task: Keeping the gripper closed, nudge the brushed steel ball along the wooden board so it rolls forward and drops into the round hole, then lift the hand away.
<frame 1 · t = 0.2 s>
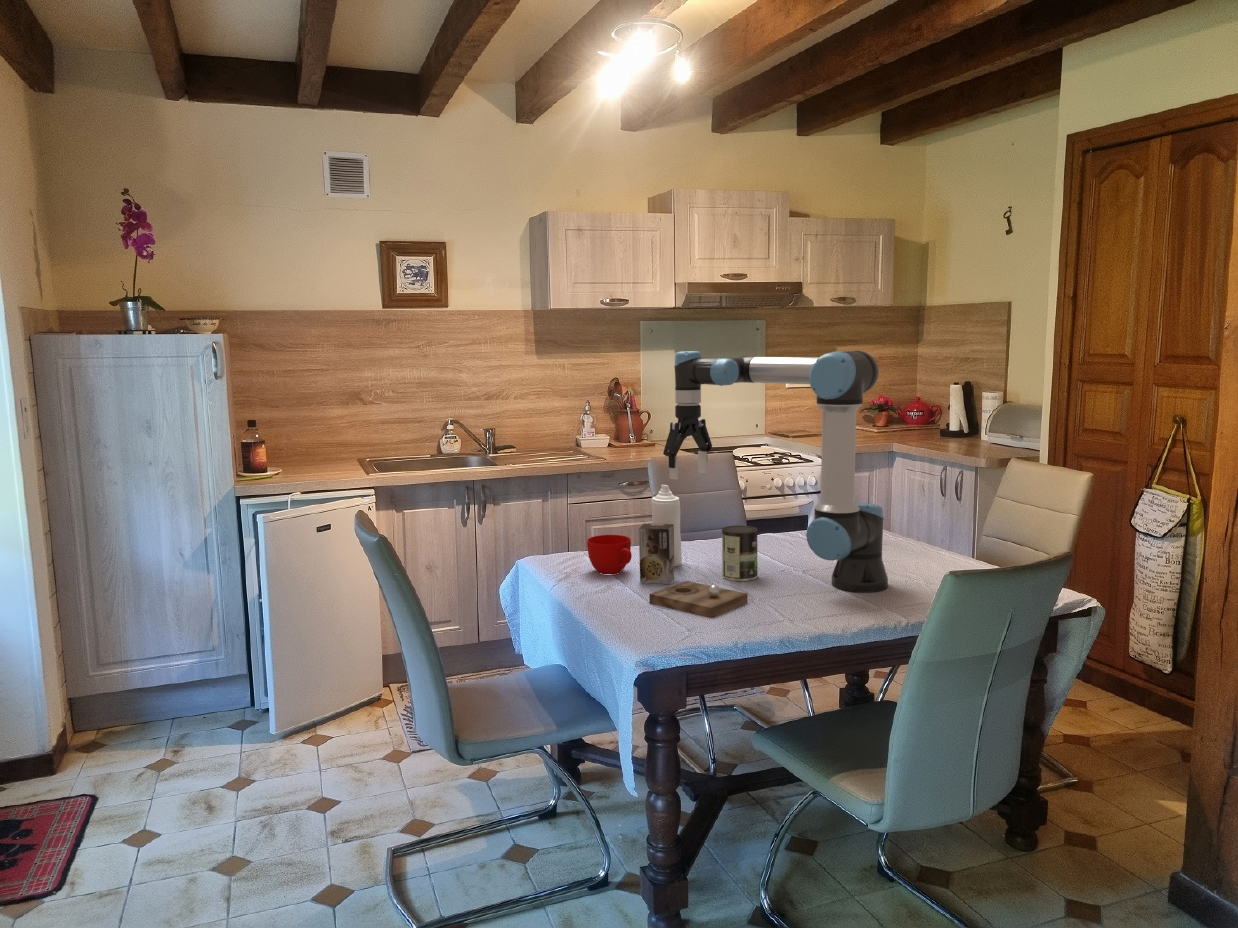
hand: (688, 475, 278), 28 cm above the table, tool pointing down, fingers open, 13 cm apart
wooden board: (698, 602, 246), on the table
coffee can: (739, 577, 271), on the table
steel ball: (713, 590, 243), point 4 cm above the table, touching wooden board
spray can: (667, 565, 286), on the table
ceramic cup: (613, 574, 277), on the table
coffee box: (657, 581, 268), on the table
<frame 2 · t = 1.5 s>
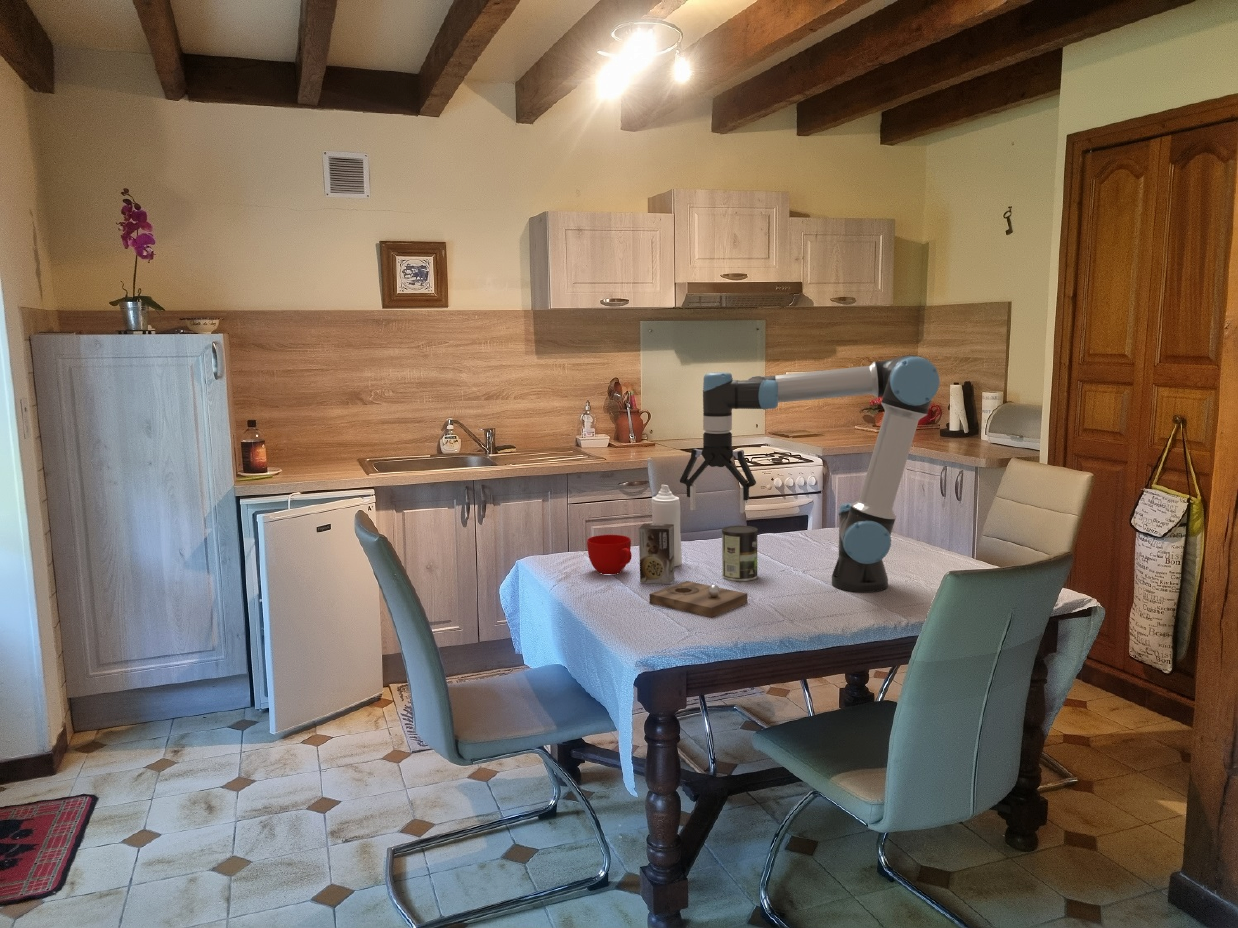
hand: (717, 510, 250), 23 cm above the table, tool pointing down, fingers open, 13 cm apart
nothing on the table moved.
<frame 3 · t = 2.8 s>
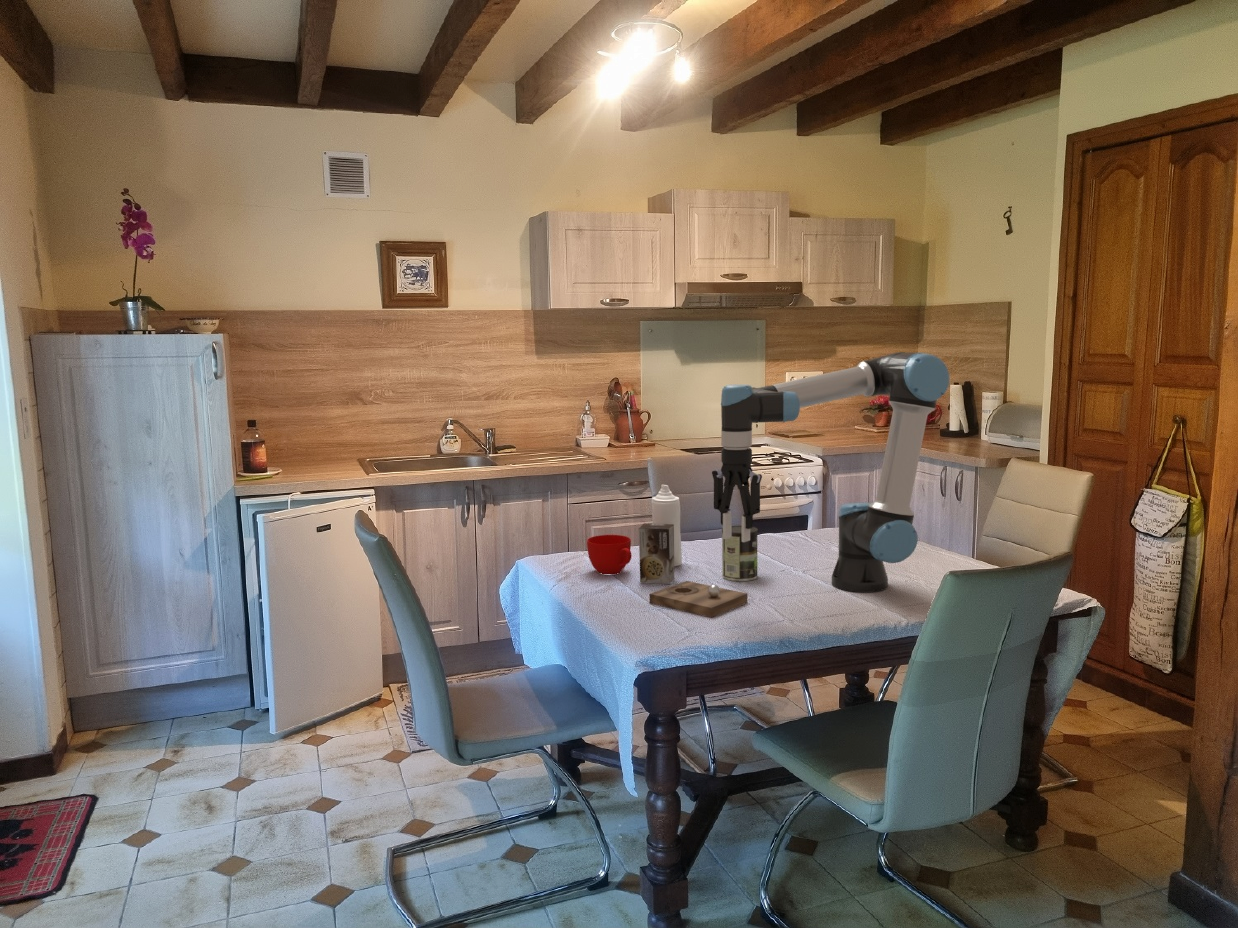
hand: (736, 539, 236), 19 cm above the table, tool pointing down, fingers open, 5 cm apart
nothing on the table moved.
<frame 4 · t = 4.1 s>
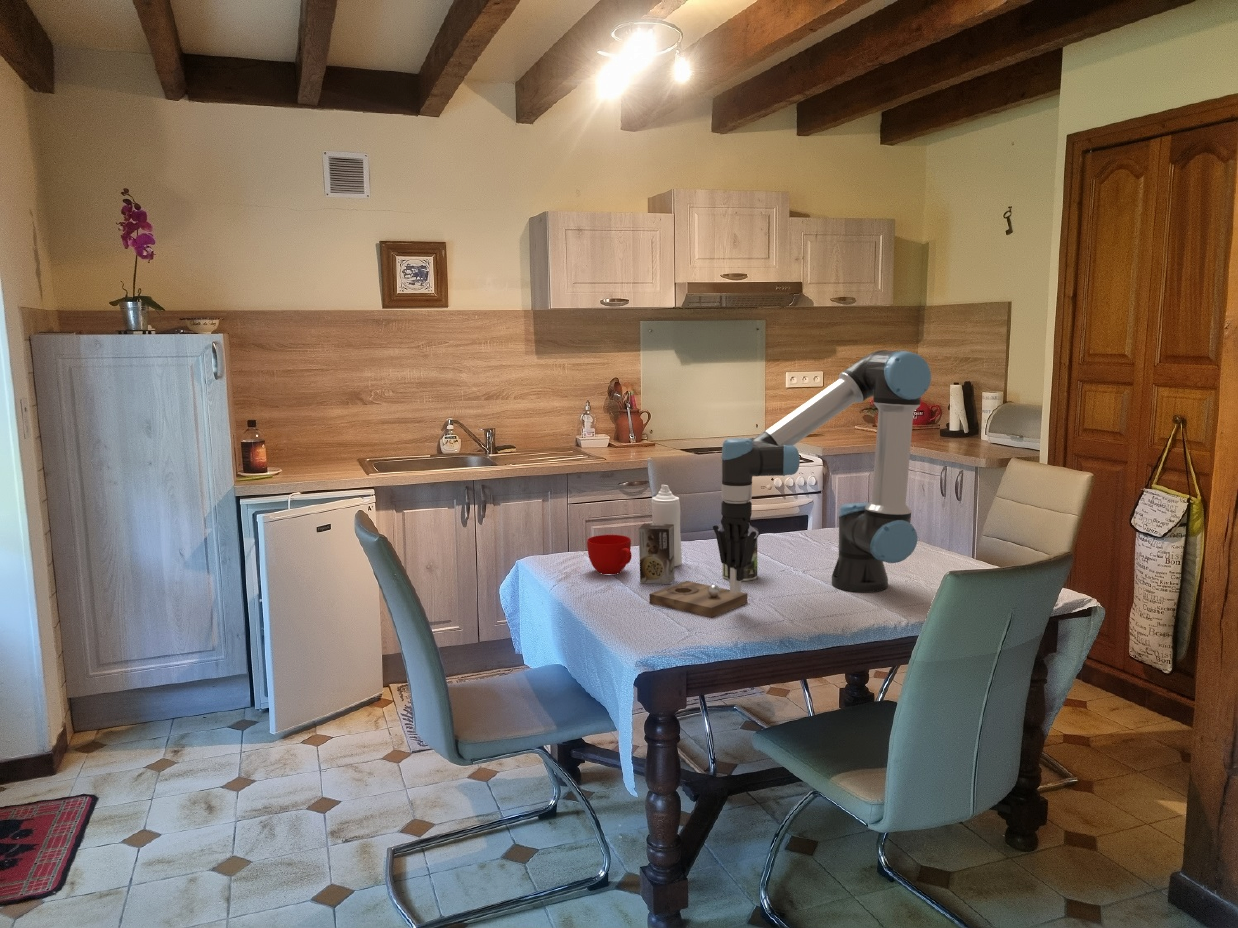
hand: (735, 592, 238), 5 cm above the table, tool pointing down, fingers closed
nothing on the table moved.
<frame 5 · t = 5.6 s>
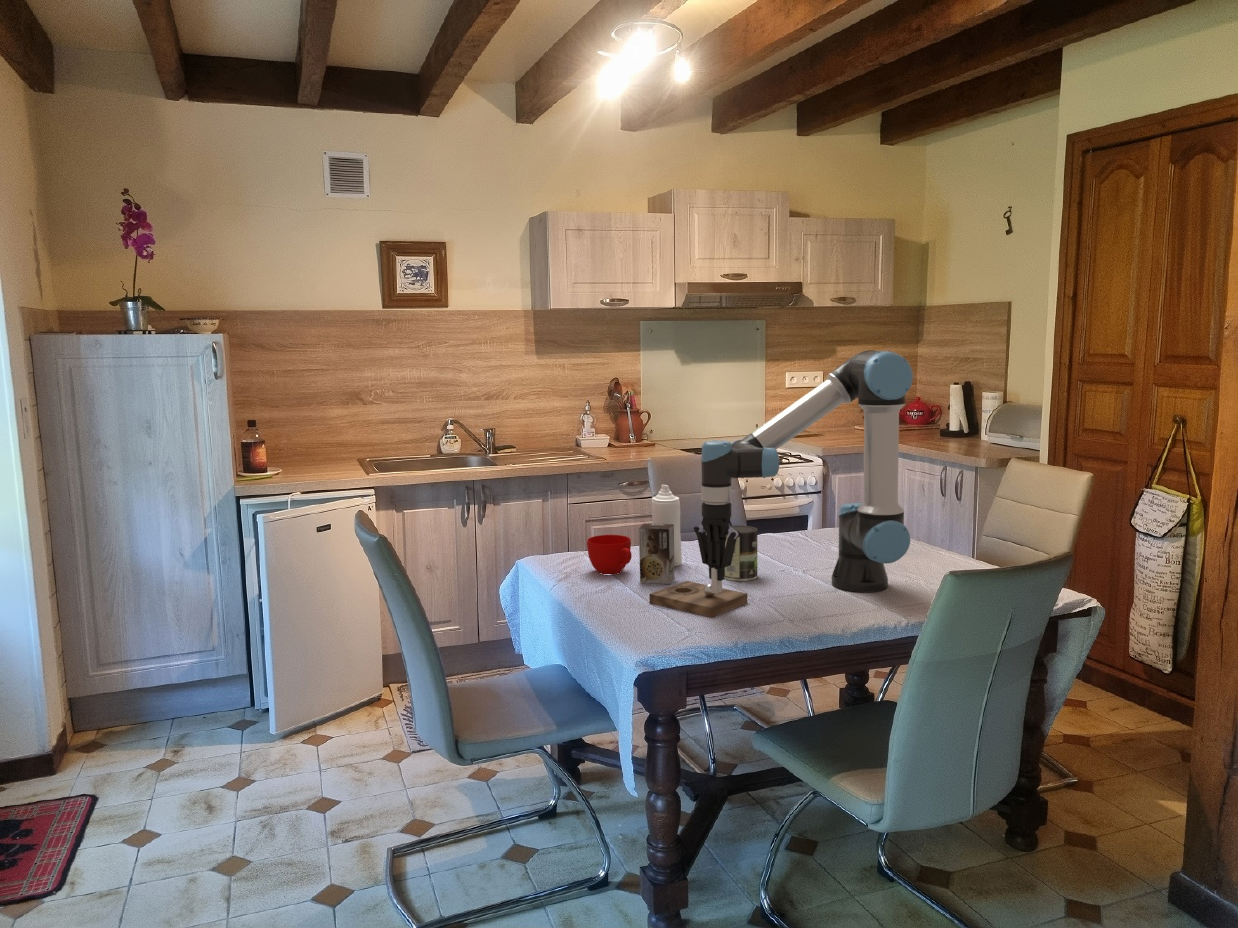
hand: (716, 591, 242), 4 cm above the table, tool pointing down, fingers closed
steel ball: (709, 590, 243), point 4 cm above the table, tilted 42°, touching gripper, wooden board
everything else where it was.
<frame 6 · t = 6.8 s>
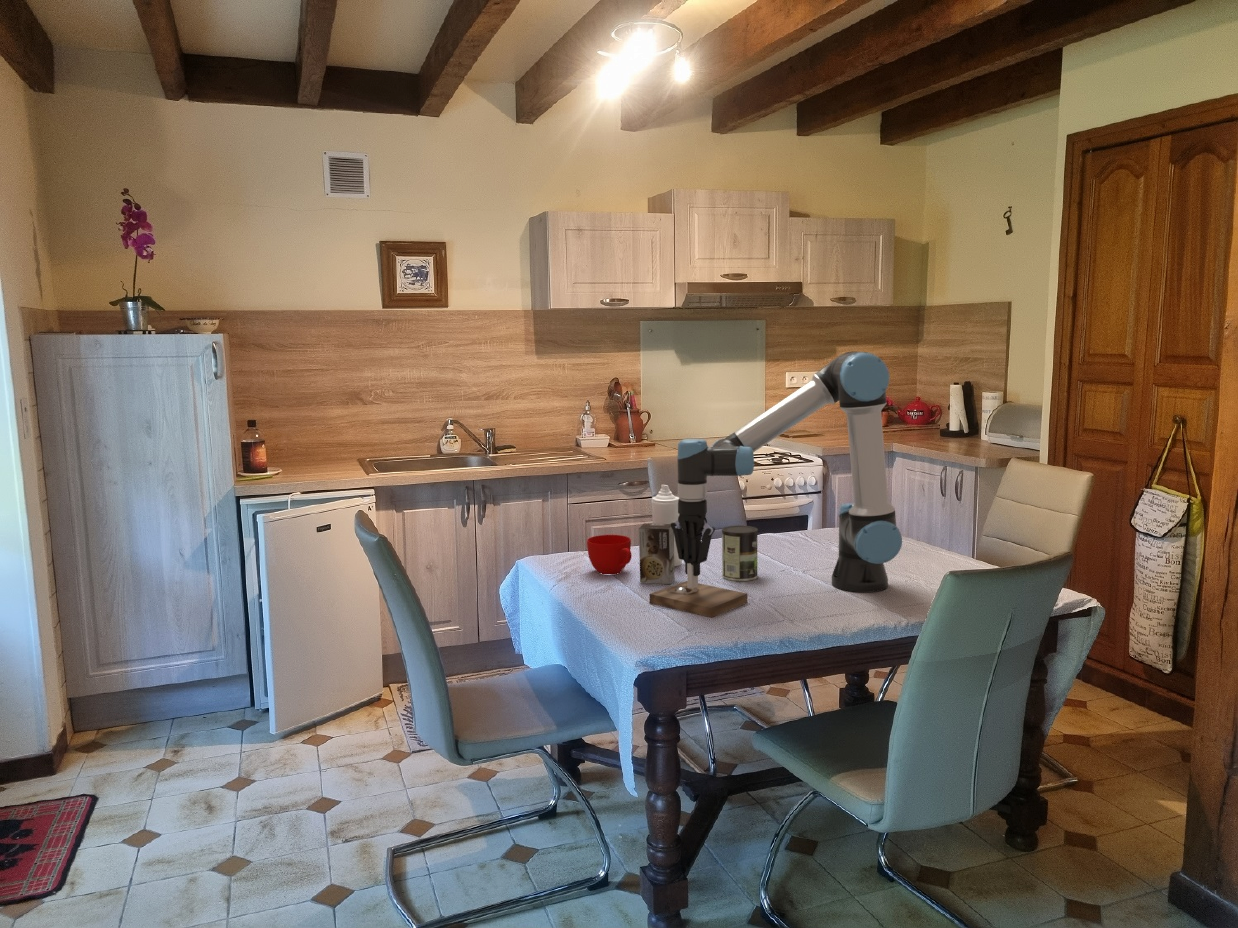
hand: (692, 586, 247), 4 cm above the table, tool pointing down, fingers closed
steel ball: (681, 593, 250), point 2 cm above the table, tilted 35°
everything else where it was.
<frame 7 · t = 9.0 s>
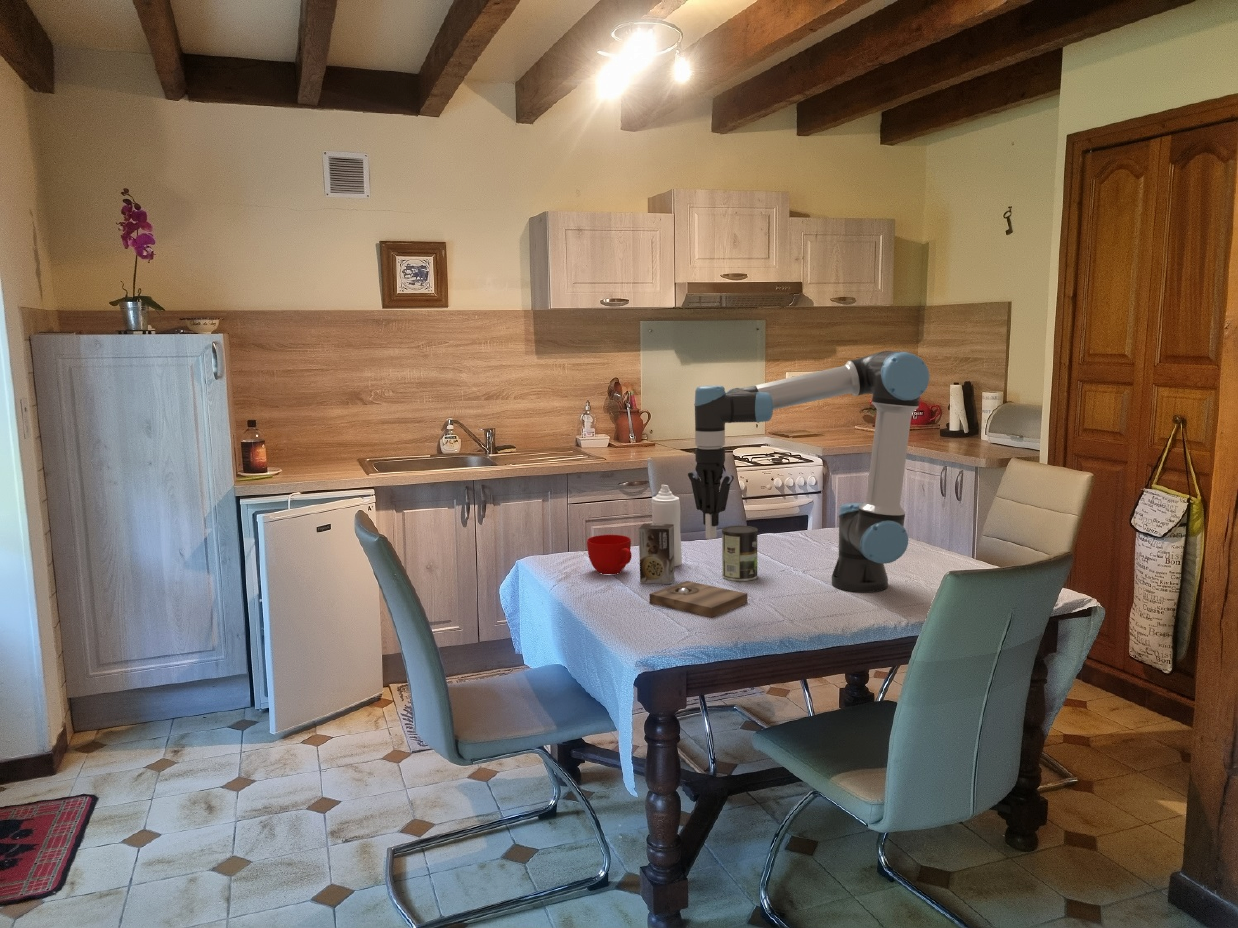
hand: (711, 537, 241), 18 cm above the table, tool pointing down, fingers closed
steel ball: (683, 593, 249), point 2 cm above the table, tilted 7°
everything else where it was.
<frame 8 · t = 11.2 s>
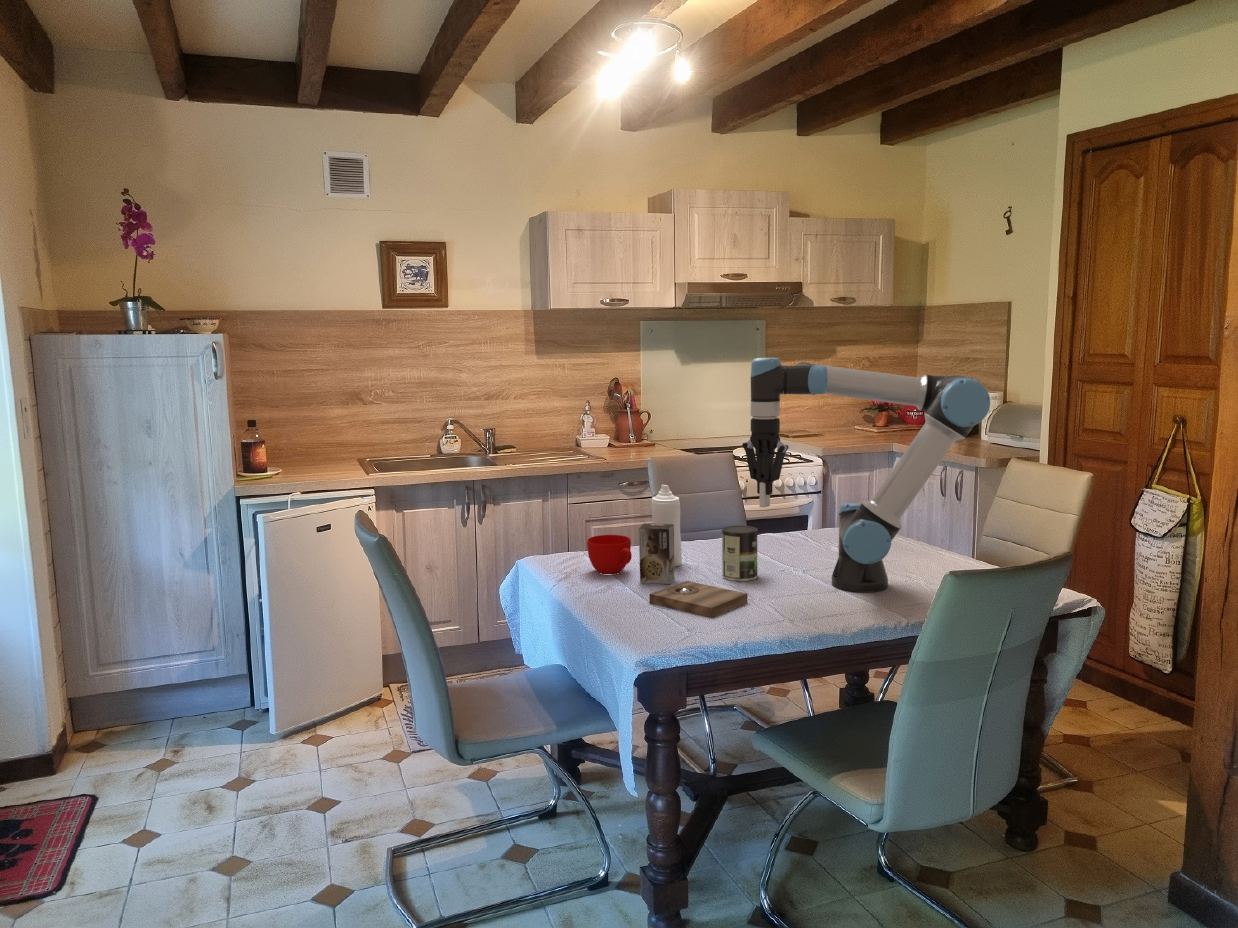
hand: (764, 506, 248), 24 cm above the table, tool pointing down, fingers closed
nothing on the table moved.
at the end: steel ball 0.6 cm from the target spot on the wooden board, point 1.6 cm above the wooden board's base; steel ball moved 9.7 cm from its start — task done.
